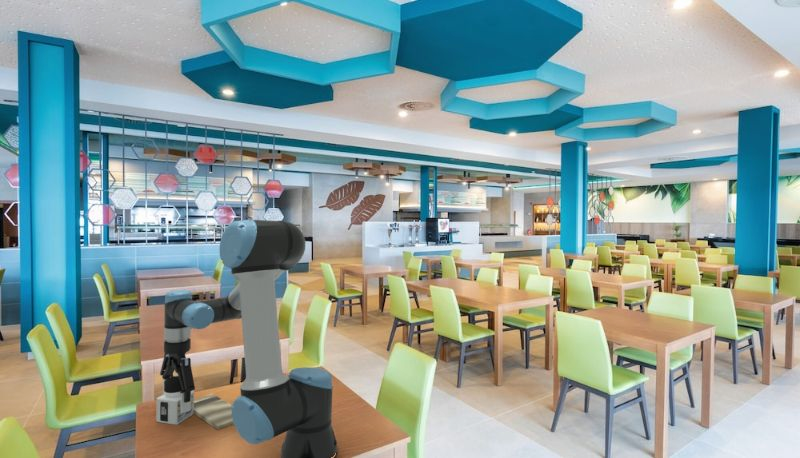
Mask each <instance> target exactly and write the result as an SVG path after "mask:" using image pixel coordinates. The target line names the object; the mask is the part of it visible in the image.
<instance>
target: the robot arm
mask: <svg viewBox="0 0 800 458" xmlns="http://www.w3.org/2000/svg"><path fill="white" fill-rule="evenodd" d="M305 251H306V238H305V235H304V233H303V231H302V230H301V229H300V228H299V227H298V226H297V225H295V224H294V223H293V222H290V221H288V220H287V221H286V220H265V219H243V220H235V221H232V222H231V223H230V224H229V225H227V226H226V228H225V229H224V231H223V233H222V235H221V237H220V241H219V257H220V260H221V261H222V262H221V263H222V265H223V266H225V267H227V268H229V269H231V270H230V272H231V277H233V278H235V279H236V280H237V282H238V284H237V285H236V286H235V287H234V288H233V289H232V290H231V292H229V293H228V295H227V296H224V297H218V298H217V297H216V298H211V299H204V300H198V301H197V300H196V301H195V300H193V297H192V292H191V290H189V289H188V290H186V289H176V290H170V291H167V292H166V293H165V297H164V304H163V305H164V327H163V340H164V341H163V352H164V356H163V359H162V364H161V367H160V373H159V375H160V376H162V377H161V378H162V380H163V381H162V395H163V394H164V381H165V380H166V379H168V378H170V377H173V376H174V372H175V373H176V374H177V376H178V377H179V380H180V384H181V387H182V391H181V392H180V393H181V413H184V412H187V411H191V391H195V389H196V386H195V381H194V376H193V371H192V369H193V368H192V363H191V362H192V361H191V357H186V353H187V352H189V351H191V348H192V347H191V345H192V344H191V334H192V332H191V330H192V329H194V330H195V329H196V330H204V329H206V328H207V327H209V326H210V325H212V324H216V323H220V322H227V321H233V320H240V319H241V328H242V329H241V331H242V340H243V343H242V344H243V353H244V366H245V379H244V380H243V381H242V383H241V385H240V386H239V387H240V389H239V390H240V396H237V397H236V398H235V399H234V401H233V402H232V404H231V405H232V419H233V422H234V424H233V425H234V428H235V430H236V431H237V433H238V434H239V436H240V437H241V438H242V439H243V440H244V441H245V442H246V443H248V444H250V445H259V444H261V443H264V442H266V441H271V440H272V439H273V438H275V437H277V436H280V435H281V434H284V433H285V437H284V441H283V443H282V445H281V447H280V448H281V449H280V458H331V457H333V456H334V455H335V453H336V452H337V453H338V441H337V439H336V435H335V432H334V429H333V426H332V417H333V416H332V415H333V414H332V410H333V409H332V408H333V389H334V387H333V378H332V374H331V373H330V372H328V371H327V370H325V369H323V368H318V367H312V366H311V367H310V366H308V367H307V366H305V367H304V366H303V367H296V368H293V369H290V371H289V373H288V375H287V374H286V373H284V372H283V367H282V366H283V365H282V356H281V355H282V354H281V344H280V331H279V321H278V320H279V319H278V307H277V306H278V305H277V296H276V295H277V294H276V285H275V281H276V280H278V279H279V277H280V276H281V275H282V274H284V272H287V271H288V272H289V271H290V270H292V269H293V268H294V267H296V265H297V264H298V263H300V261H301V259H302V258H303V256H304V253H305Z"/></svg>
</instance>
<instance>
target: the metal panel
mask: <svg viewBox="0 0 800 458" xmlns="http://www.w3.org/2000/svg"><path fill="white" fill-rule="evenodd" d="M232 405H233V404H231V403H229V402H227V401H226V400H224V399H222V398H221V397H219V396H218V395H215V394H214V393H210V394H206V395H203V396H199V397H196V398H194V414H193V415H196V416H197V417H198V418H199V419H201V420H203V421H204V422H206V423H207V424H209V425H210V426H211V427H212V428H214V429H216V430H217V431H218V430H221V429H223V428H226V427H229V426H231V425H234V422H233V419H232Z"/></svg>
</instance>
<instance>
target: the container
mask: <svg viewBox="0 0 800 458" xmlns="http://www.w3.org/2000/svg"><path fill="white" fill-rule="evenodd" d="M181 391H182V387H181V384H180V380H179V377H178V375H173V377H170V378H168V379H166V380H165V381H164V394H163V393H162V394H161V395H160V396H158V397H156V408H155V409H156V412H155V413H156V414H155V415H156V422H157V423H161V424H162V423H163V424H169V425H175V426H177V425H179V424H180V423H182V422H184V421H185V420H186V419H188V418H190V417H191V416H193V415H195V414H194V399H195V390H193V391H191V411H187V412H184V413H181V393H180V392H181Z"/></svg>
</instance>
